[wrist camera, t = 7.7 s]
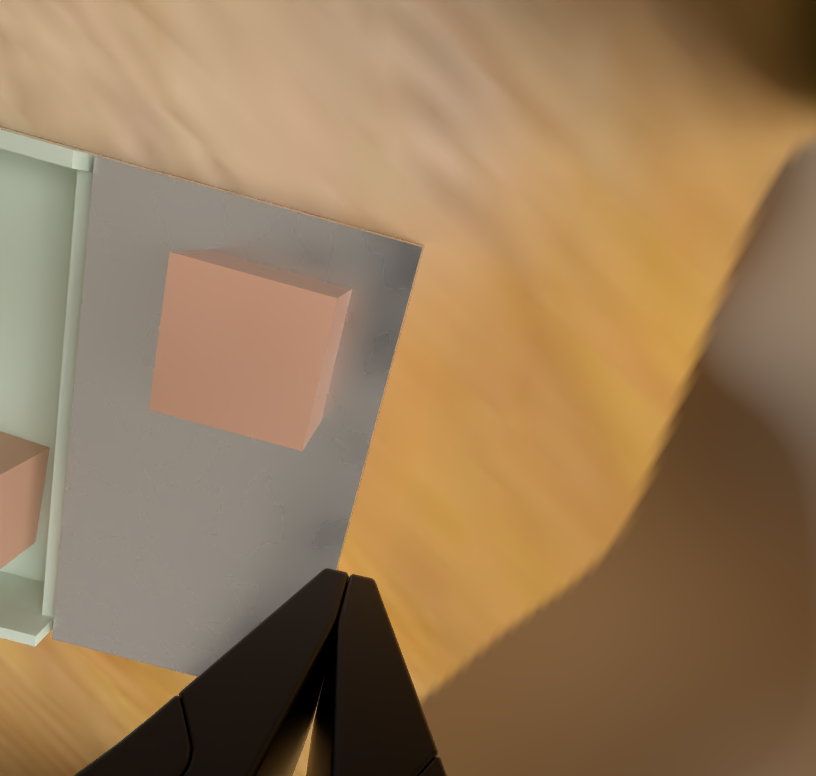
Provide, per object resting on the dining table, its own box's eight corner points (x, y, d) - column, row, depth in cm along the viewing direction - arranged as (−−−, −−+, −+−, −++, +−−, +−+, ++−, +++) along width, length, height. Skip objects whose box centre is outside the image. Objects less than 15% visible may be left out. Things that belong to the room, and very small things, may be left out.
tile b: (320, 421, 17) (302, 451, 15) (188, 385, 17) (149, 409, 15) (352, 289, 16) (337, 298, 14) (209, 249, 16) (169, 251, 14)
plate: (314, 654, 23) (300, 702, 21) (92, 596, 23) (51, 638, 21) (424, 245, 18) (422, 247, 16) (140, 166, 18) (94, 155, 16)
